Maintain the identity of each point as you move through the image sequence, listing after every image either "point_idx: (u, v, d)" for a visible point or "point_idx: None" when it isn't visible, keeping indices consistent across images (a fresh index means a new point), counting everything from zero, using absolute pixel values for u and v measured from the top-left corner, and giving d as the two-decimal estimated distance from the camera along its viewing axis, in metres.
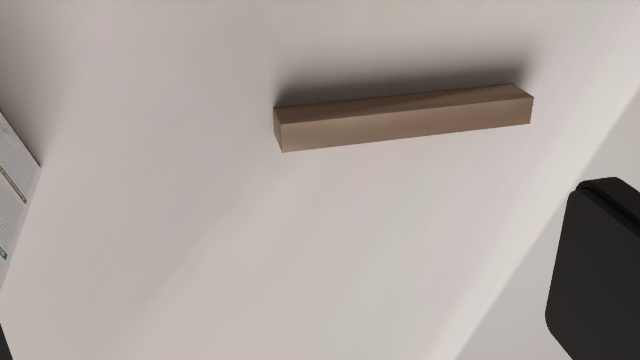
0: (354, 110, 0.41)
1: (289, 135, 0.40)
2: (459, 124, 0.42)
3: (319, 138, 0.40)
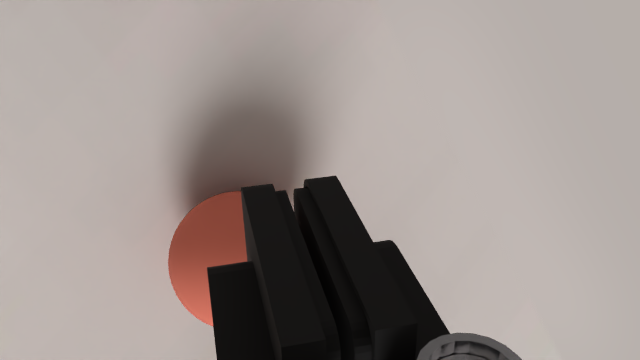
0: None
1: None
2: None
3: None
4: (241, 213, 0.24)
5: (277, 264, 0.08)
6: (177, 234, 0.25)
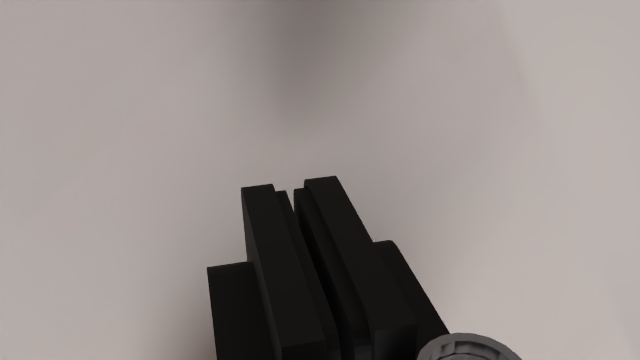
0: None
1: None
2: None
3: None
4: None
5: (277, 264, 0.08)
6: None
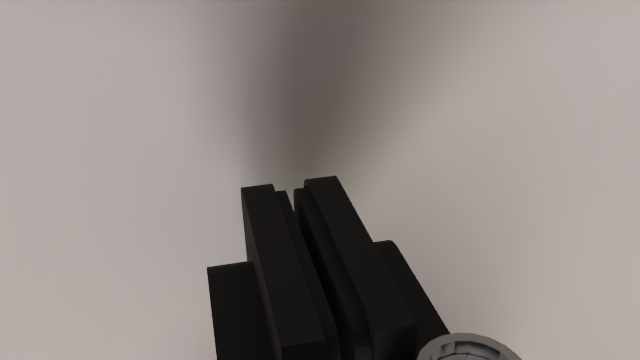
0: None
1: None
2: None
3: None
4: None
5: (277, 264, 0.08)
6: None
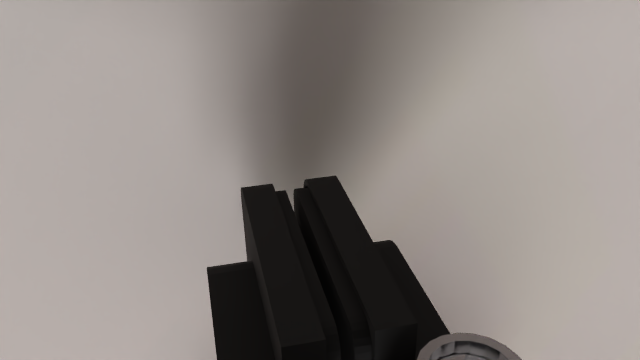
0: None
1: None
2: None
3: None
4: None
5: (277, 264, 0.08)
6: None
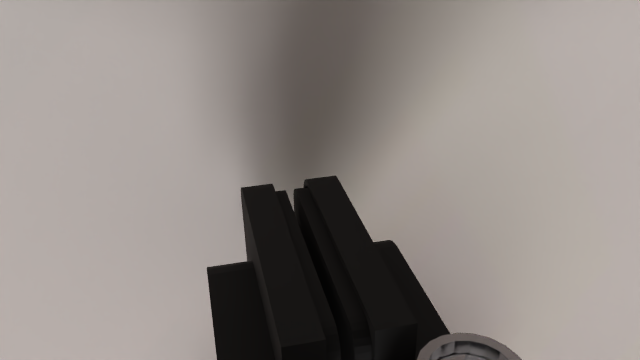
0: None
1: None
2: None
3: None
4: None
5: (277, 264, 0.08)
6: None
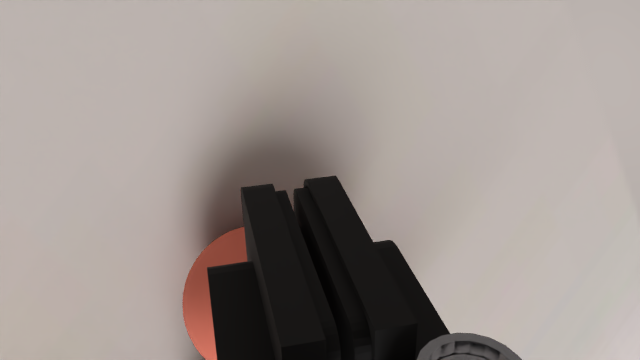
0: None
1: None
2: None
3: None
4: None
5: (277, 264, 0.08)
6: None
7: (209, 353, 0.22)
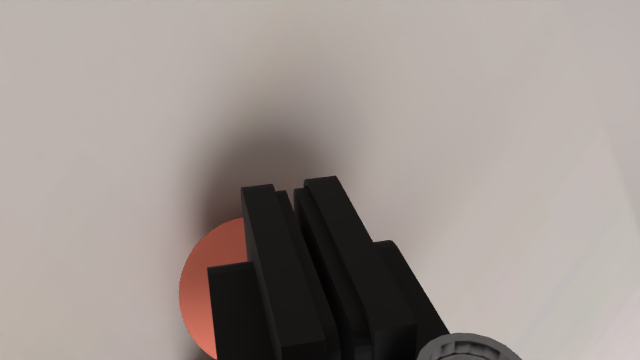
0: None
1: None
2: None
3: None
4: None
5: (277, 264, 0.08)
6: None
7: (205, 343, 0.22)
